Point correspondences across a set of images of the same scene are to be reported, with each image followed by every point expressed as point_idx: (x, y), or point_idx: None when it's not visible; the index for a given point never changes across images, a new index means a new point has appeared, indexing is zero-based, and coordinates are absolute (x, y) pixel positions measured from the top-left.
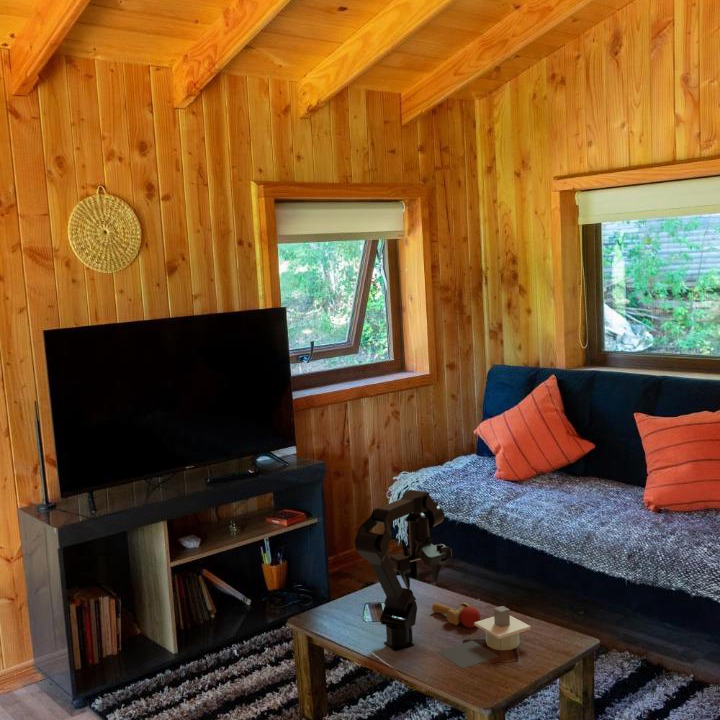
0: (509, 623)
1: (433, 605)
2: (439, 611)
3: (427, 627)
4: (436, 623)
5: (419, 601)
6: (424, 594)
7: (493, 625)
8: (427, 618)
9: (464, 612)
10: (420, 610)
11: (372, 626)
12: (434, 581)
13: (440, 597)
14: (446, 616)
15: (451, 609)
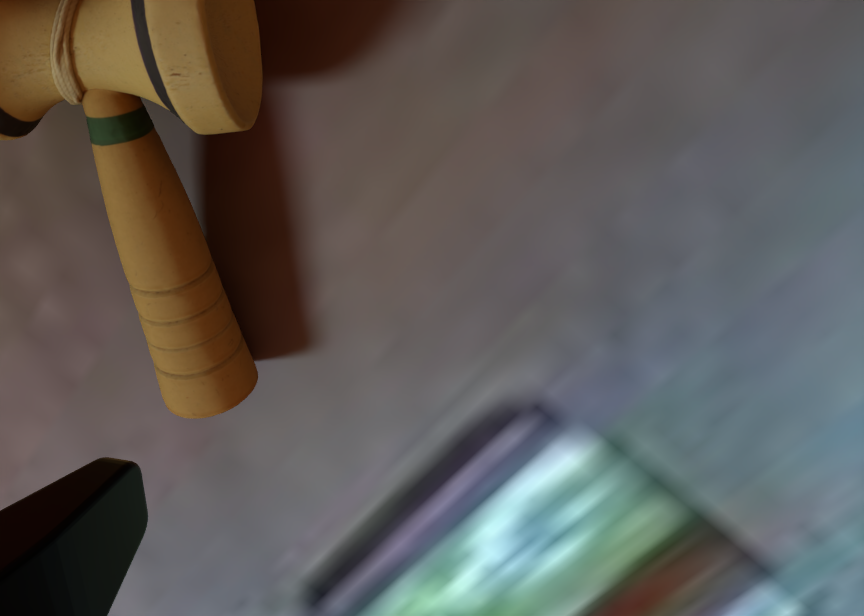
0: None
1: (228, 401)
2: (228, 303)
3: (504, 161)
4: (370, 173)
5: (238, 563)
6: (146, 608)
7: None
8: (371, 314)
9: None
10: (324, 461)
11: (861, 512)
12: (141, 484)
13: None
14: (254, 118)
15: (165, 71)
